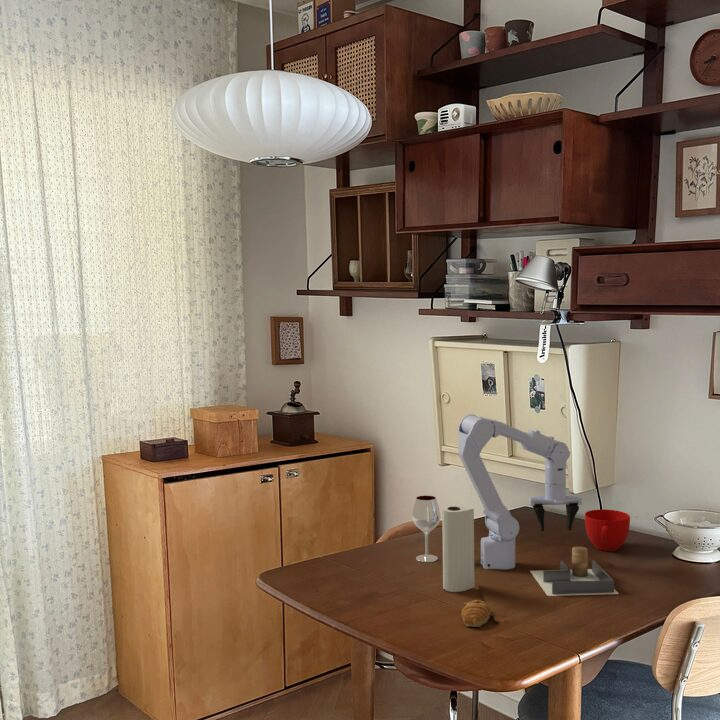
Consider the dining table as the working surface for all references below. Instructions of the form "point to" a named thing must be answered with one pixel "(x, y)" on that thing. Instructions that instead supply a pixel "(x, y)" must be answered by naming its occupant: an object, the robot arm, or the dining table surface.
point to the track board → (590, 577)
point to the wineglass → (426, 521)
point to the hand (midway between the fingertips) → (555, 529)
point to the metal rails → (565, 586)
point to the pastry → (475, 613)
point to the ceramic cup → (607, 528)
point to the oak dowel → (579, 561)
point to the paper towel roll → (458, 548)
